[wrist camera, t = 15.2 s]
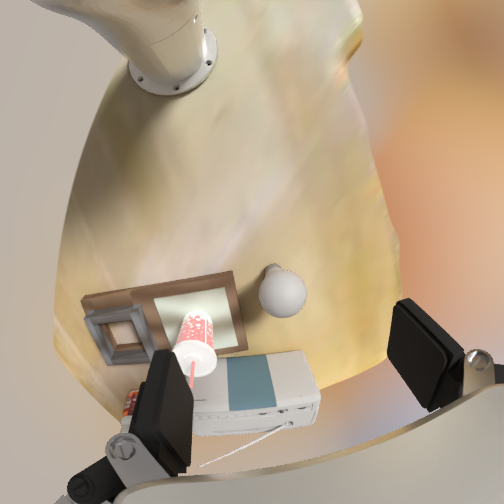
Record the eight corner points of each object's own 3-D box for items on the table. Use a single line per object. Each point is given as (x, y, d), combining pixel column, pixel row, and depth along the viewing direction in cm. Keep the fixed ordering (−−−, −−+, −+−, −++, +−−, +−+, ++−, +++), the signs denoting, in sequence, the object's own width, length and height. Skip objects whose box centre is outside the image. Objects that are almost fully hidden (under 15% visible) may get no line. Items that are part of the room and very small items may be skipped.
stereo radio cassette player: (302, 343, 48) (337, 430, 30) (300, 374, 51) (327, 456, 33) (187, 353, 47) (176, 447, 28) (194, 384, 50) (189, 471, 31)
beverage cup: (170, 324, 42) (155, 389, 29) (193, 299, 40) (183, 362, 27) (201, 344, 43) (197, 410, 30) (225, 321, 42) (227, 387, 29)
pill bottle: (128, 385, 49) (116, 426, 38) (156, 393, 50) (148, 436, 39) (128, 402, 50) (117, 441, 40) (154, 409, 52) (147, 449, 41)
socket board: (84, 295, 41) (74, 308, 37) (232, 270, 42) (233, 283, 38) (114, 358, 46) (107, 373, 42) (247, 342, 47) (249, 359, 43)
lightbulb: (256, 290, 44) (266, 332, 33) (249, 255, 41) (257, 289, 31) (294, 282, 44) (314, 320, 33) (289, 246, 42) (310, 277, 31)
